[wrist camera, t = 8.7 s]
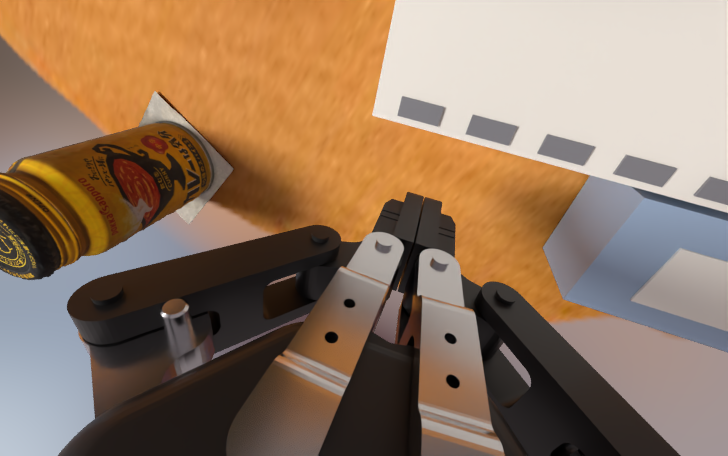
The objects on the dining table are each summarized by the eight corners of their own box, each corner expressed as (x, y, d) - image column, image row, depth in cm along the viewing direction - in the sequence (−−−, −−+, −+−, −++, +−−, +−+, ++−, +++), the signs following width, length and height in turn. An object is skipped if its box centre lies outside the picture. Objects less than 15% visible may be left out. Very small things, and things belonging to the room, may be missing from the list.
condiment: (235, 167, 23) (67, 260, 13) (190, 223, 28) (39, 324, 18) (157, 90, 22) (-99, 129, 12) (123, 162, 26) (-85, 235, 16)
